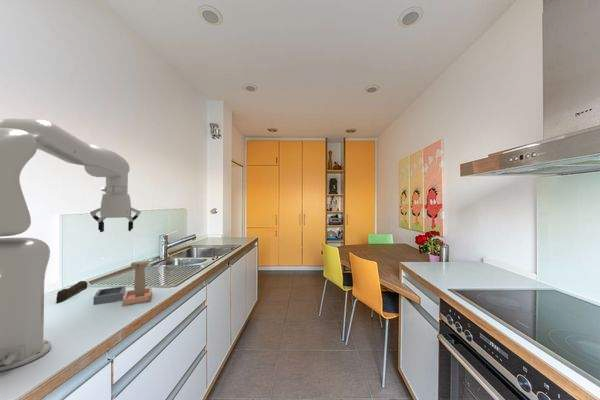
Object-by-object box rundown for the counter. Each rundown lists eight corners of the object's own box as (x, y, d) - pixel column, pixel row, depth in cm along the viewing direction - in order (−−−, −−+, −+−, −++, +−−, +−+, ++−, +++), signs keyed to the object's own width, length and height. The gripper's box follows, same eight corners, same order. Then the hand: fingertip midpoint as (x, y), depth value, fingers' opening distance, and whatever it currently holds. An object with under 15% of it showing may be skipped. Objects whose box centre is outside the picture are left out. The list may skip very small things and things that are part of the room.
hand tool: (77, 289, 118) (77, 279, 118) (87, 288, 119) (87, 278, 119) (48, 305, 100) (48, 293, 100) (60, 304, 101) (60, 292, 101)
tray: (150, 301, 103) (150, 295, 103) (122, 306, 98) (122, 300, 98) (151, 292, 113) (151, 287, 113) (126, 296, 108) (126, 291, 108)
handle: (146, 299, 104) (146, 263, 104) (128, 300, 102) (129, 264, 102) (150, 294, 108) (150, 260, 109) (133, 296, 107) (133, 261, 107)
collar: (122, 300, 104) (122, 293, 104) (93, 304, 99) (93, 297, 99) (125, 292, 113) (125, 286, 113) (99, 296, 109) (99, 289, 109)
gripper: (87, 189, 97) (87, 233, 97) (139, 191, 105) (139, 231, 105) (93, 190, 104) (92, 231, 104) (141, 191, 112) (141, 229, 112)
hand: (116, 231), depth 104 cm, fingers open, 9 cm apart
